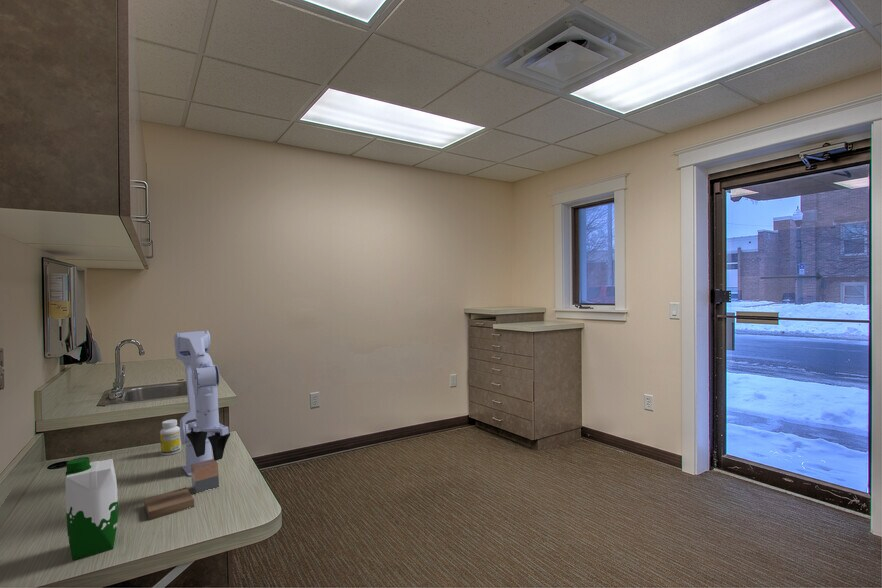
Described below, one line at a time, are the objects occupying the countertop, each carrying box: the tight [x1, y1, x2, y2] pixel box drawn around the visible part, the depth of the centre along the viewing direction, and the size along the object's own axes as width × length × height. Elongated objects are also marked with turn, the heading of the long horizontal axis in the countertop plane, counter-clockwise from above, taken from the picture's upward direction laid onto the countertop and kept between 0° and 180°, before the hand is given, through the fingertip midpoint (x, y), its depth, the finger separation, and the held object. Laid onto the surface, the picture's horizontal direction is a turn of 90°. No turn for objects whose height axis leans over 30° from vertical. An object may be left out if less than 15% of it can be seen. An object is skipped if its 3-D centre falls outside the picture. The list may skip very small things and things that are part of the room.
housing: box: [191, 458, 220, 494], centre depth 131 cm, size 5×6×7 cm
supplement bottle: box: [159, 418, 182, 456], centre depth 163 cm, size 6×6×11 cm
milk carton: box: [65, 456, 119, 561], centre depth 102 cm, size 9×9×20 cm
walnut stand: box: [143, 487, 195, 521], centre depth 120 cm, size 10×10×2 cm
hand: (209, 457), depth 129 cm, fingers open, 7 cm apart
